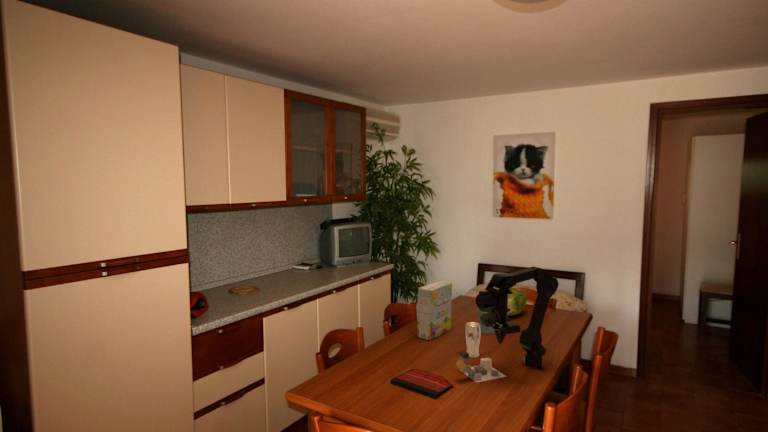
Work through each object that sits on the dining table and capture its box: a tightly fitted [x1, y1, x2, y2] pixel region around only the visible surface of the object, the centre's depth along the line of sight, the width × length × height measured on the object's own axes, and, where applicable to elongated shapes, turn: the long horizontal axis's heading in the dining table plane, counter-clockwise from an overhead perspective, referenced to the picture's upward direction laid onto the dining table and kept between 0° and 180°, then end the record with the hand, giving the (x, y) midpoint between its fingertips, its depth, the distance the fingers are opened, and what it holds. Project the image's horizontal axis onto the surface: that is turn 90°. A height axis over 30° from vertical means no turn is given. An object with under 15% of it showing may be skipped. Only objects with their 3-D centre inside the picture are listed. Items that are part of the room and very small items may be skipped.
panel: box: [457, 364, 507, 383], centre depth 177 cm, size 14×14×4 cm
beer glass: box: [464, 321, 482, 358], centre depth 195 cm, size 7×7×15 cm
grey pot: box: [477, 307, 495, 335], centre depth 228 cm, size 10×10×12 cm
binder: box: [390, 368, 454, 400], centre depth 170 cm, size 16×2×21 cm
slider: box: [479, 357, 493, 370], centre depth 180 cm, size 4×2×4 cm, turn 111°
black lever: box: [458, 350, 470, 366], centre depth 179 cm, size 2×3×7 cm
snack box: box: [416, 280, 453, 341], centre depth 225 cm, size 22×9×26 cm, turn 143°
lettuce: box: [508, 287, 527, 317], centre depth 255 cm, size 15×27×16 cm, turn 144°
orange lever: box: [455, 358, 477, 377], centre depth 171 cm, size 2×3×10 cm
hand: (499, 343), depth 176 cm, fingers closed
